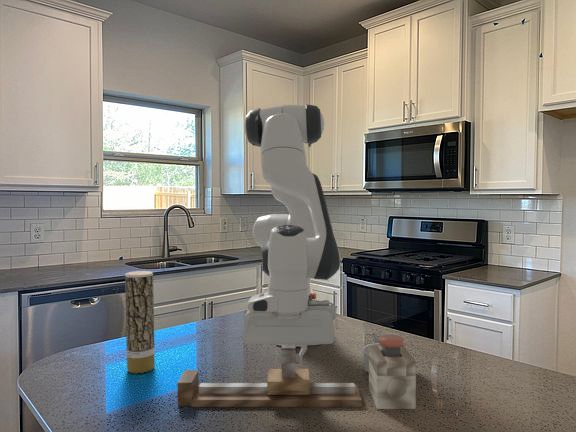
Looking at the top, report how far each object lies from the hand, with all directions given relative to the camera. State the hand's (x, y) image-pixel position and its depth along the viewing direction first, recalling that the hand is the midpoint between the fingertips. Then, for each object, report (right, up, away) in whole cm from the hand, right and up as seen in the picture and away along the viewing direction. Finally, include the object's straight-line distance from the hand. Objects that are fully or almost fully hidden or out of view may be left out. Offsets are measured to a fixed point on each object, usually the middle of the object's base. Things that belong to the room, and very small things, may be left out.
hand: (288, 362), depth 98 cm
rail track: (+1, -8, 0) cm, 8 cm away
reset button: (+22, +1, 0) cm, 22 cm away
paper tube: (-38, -8, +17) cm, 42 cm away
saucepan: (+24, -7, +19) cm, 32 cm away
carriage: (0, -6, 0) cm, 6 cm away
